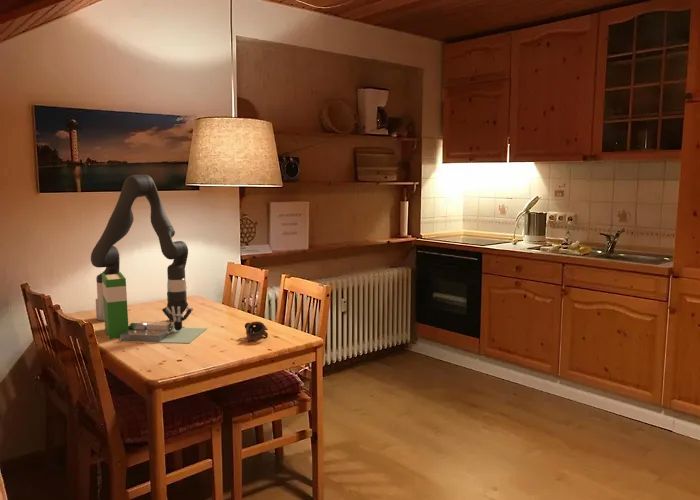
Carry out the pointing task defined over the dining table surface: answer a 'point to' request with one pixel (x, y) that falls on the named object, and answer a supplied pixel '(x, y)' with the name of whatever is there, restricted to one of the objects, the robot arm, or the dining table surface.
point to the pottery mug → (255, 330)
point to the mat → (179, 336)
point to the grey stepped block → (143, 333)
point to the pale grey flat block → (160, 326)
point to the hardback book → (115, 304)
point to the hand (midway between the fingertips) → (178, 330)
